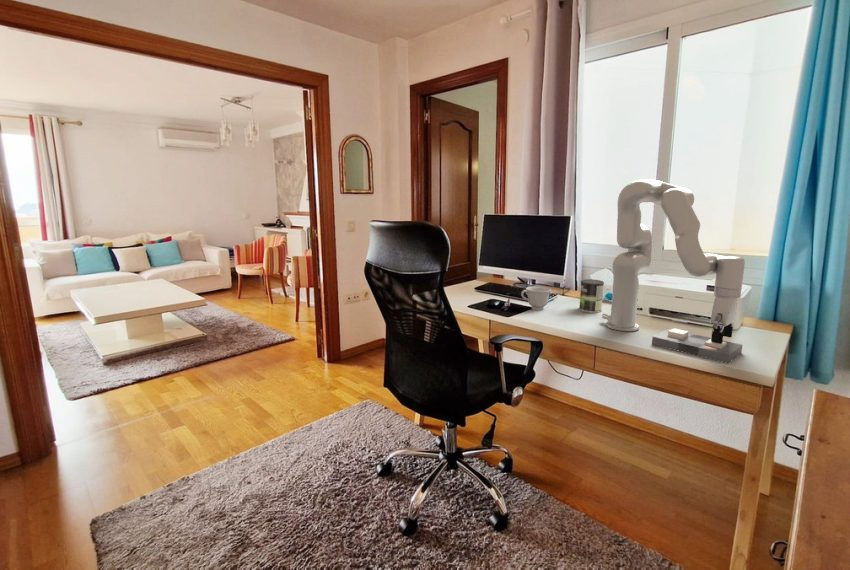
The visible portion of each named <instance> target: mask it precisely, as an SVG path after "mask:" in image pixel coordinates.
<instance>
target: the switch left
mask: <svg viewBox="0 0 850 570" xmlns="http://www.w3.org/2000/svg"><path fill="white" fill-rule="evenodd" d="M688 333H689V330H685V329H684V330H683V329H679V328H675V327H674V328H672V330H670V331H668V337H672V338H677V339H681V340H684V339H686V338H688Z"/></svg>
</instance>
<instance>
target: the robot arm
mask: <svg viewBox="0 0 850 570" xmlns="http://www.w3.org/2000/svg"><path fill="white" fill-rule="evenodd" d="M641 203H652V204H657V205H660V207H661V209H662V211H663V214H664V215H665V218H666V219H667V221H668V223H669V225H670V227H671V229H672V231H673V233H674V243H675V248H676V253H677V254H678V257H679V259H680V261H681V263H682V266H683V267H684V269H685V271H686V272H687V273H688V274H689V275H690V276H691V277H695V278H702V277H703V278H704V277H705V276H706V277H707V276H710V275H715V281H714V290H713V296H714V300H713V304H712V309H711V315H710V322H709V323H710V324H711V325H712V330H711V337H710V338H711V342H715V343H719V344H722V342H723V341H724V337H725V338H732V336H733V329H734V322H735V318H736V315H737V304H738V299H740V298H741V294H742V287H743V280H744V272H745V264H746V261H745V258H743V257H741V256H734V255H720V254H715V253H708V252H707V253H704V251H703V249H702V247H701V245H700V242H699V232H700V229H701V222H700V220H699V218H698V217H697V215H696V212H695V211H694V208H693V207H692V206H693V205H694V203H695V196H694V193H693V192H692V190H690V189H688V188H686V187H682V186H678V185H674V184H672V183H671V184H670V183H667V182H665V181H664V182H663V181H661V180H655V179H639V180H638V179H637V180H635V181H632V182H630V183H628V184H627V185H625V186H624V187H623V188H622V189H621V191H620V193H619V195H618V198H617V219H616V220H617V223H616V225H617V226H616V242H617V244H618V246H619V247H620V248H623V249H625V250H627V251H626V252H621V253H620V254H618V255H616V257H614V259H613V261H612V274H613V275H612V277H613V280H612V281H613V283H612V296H611V297H612V298H611V309H610V311H611V312H610V314H608V313H605V312H603V313H602V315H601V319H602V320H606V321H607V322H606V323H605V326H606V327H607V328H609V329H612V330H614V331H618V332H619V331H621V332H636V331H638V330H640V325H639V324H638V323H636V322H637V321H636V319H637V309H638V305H637V301H638V298H639V288H640V286H639V285H640V284H639V283H640V282H639V276H638V274H640V273H643V272H646V271H647V270H648V269H649V268H650V266H651V263H652V249H653V248H652V247H653V246H652V244H653V235H652V231H651V229H650V228H649V227H648V226H646V225H645V224H643V223H642V211H641V207H640V205H641Z"/></svg>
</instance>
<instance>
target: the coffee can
mask: <svg viewBox="0 0 850 570" xmlns="http://www.w3.org/2000/svg"><path fill="white" fill-rule="evenodd" d="M604 285H605V282H604V281H603V280H600V279H599V280H598V279H593V278H592V279H588V278H587V279H581V280H580V294H579V295H580V296H579V305H578V306H579V307H578V309H579V311H581V312H585V313H589V314H594V313H600V312H602V311H603V310H602V308H603V298H604V297H603V296H604Z"/></svg>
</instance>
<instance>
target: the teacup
mask: <svg viewBox="0 0 850 570" xmlns="http://www.w3.org/2000/svg"><path fill="white" fill-rule="evenodd" d="M551 291H552V289H551V288H550V287H547V286H542V285H541V286H540V285H539V286H538V285H537V286H536V285H533V286H528V287H526V288H525V289H523V290H522V291H521V294H520V295H521V296H520V297H522V299H523V300H525V301H526V300H527V301H528V304H529V306H531V309H532V310H535V311H542V310H544V307H545V306H547V305H548V302H549V297H550V292H551ZM524 293H525V294H526V295H527V297H526V296H525V295H524Z"/></svg>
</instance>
